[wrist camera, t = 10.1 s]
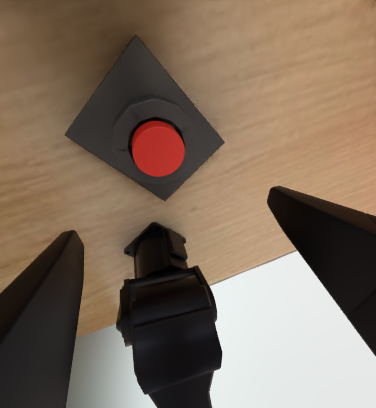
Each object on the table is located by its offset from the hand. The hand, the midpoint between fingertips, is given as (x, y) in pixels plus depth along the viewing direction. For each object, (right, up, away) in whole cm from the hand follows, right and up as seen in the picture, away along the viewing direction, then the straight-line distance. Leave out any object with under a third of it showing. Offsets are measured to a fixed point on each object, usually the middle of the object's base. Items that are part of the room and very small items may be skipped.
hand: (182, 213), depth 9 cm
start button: (-2, +5, +7) cm, 9 cm away
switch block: (-3, +7, +10) cm, 12 cm away
